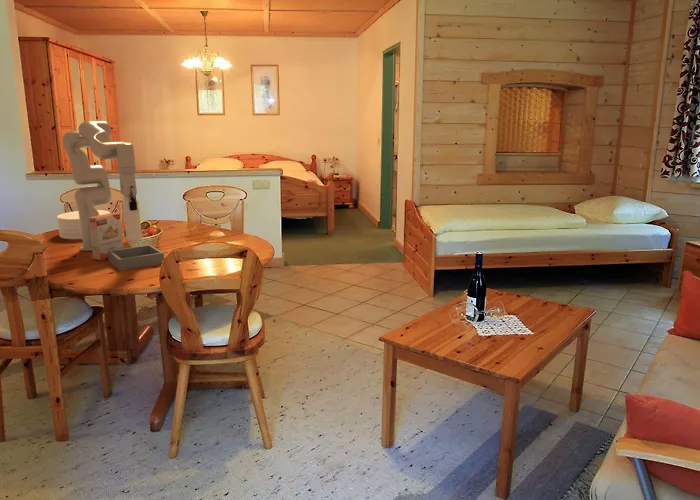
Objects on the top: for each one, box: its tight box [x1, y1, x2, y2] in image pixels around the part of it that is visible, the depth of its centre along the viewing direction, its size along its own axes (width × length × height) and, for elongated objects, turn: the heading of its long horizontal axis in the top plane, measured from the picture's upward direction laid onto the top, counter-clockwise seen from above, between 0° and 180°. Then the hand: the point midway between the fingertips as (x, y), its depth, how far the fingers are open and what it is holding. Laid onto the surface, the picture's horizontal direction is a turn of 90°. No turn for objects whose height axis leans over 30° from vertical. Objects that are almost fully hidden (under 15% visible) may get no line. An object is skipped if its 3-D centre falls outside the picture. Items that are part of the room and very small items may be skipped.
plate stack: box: [56, 209, 111, 240], centre depth 330 cm, size 28×28×12 cm
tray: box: [108, 244, 165, 271], centre depth 270 cm, size 20×20×5 cm
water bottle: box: [122, 194, 143, 242], centre depth 265 cm, size 7×7×25 cm
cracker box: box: [89, 212, 124, 261], centre depth 278 cm, size 14×6×21 cm, turn 153°
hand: (131, 208), depth 265 cm, fingers closed on water bottle, 7 cm apart
